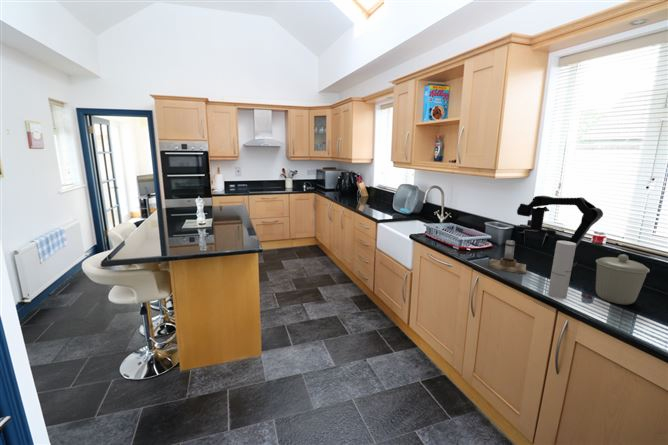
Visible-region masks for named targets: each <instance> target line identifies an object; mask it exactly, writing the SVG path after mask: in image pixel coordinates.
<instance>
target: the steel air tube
mask: <svg viewBox="0 0 668 445" xmlns="http://www.w3.org/2000/svg"><path fill="white" fill-rule="evenodd" d="M515 246H516V241H515V240H511V239H507V240H506V241H505V246H504V247H505V248H504V257H503V258H504V260H505V261H510V262H513V259H514V254H515V253H514V252H515Z"/></svg>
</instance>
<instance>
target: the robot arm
mask: <svg viewBox="0 0 668 445" xmlns="http://www.w3.org/2000/svg"><path fill="white" fill-rule="evenodd" d="M553 205H554V206H576V207H577V209H578V211H580V212H581V213H582V216H581V221H580V223H579V225H578V227H577V228H576V230H575V231H574V233H573V234H572V236H571V237H570V239H569V242H573V243H576V248H575V250H576V249H577V247H578V246H579V244H580V243H581V241H582V240H583V239H584V237H585V236H586V234H587V233H588V232H589V231H590V228H591V227H593V226H594V225H595V224H596V223H598V222H599V221H600V219H601V218H602V217H603V215H604V212H603V210H602V209H601V208H600V207H596V206H595V205H594V204H592V203H591V202H589V201H588V200H586V198H584V197H553V196H547V195H536V196H534V197H533V198H532V201H531V202H530V203H528V204H525V203H520V204H519V206H518V207H517V209H516V214H517V216H520V217H521V216H522V217H528V218H529V217H530V216H531V217H530V218H531V219H528V220H527V222H526V226H527V227H526V226H525V225H520V224H518V225H516V229H515V232H516V233H517V232H518V234H520V237H521V239H522V244H523V245H525V242H526V241H525V239H526V238H525V237H526V236H525V232H532V233H541V234H544V238H543V241H542V245H541V247H542V248H543V247H544V246H545V244H546V243H547V241H548V240H550V239H551V238H553V237H556V235H557V234H556V233H557V231H556V229H554V228H553V229H552V228H547V229H543V224H544V217H545V212H550V209H549V208H548V207H547V206H553ZM577 263H578V262H577V261H576V260H575V259H573V265H572V270H571V275H570V281H574V279H573V277H574V270H575V266H576V265H577Z"/></svg>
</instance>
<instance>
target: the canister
mask: <svg viewBox="0 0 668 445" xmlns="http://www.w3.org/2000/svg"><path fill="white" fill-rule="evenodd" d="M595 263H596V273H595V274H596V275H595V291H596V295H597V296H598V297H599V298H600V299H601V300H604V301H607V302H609V303H614V304H616V305H631V304H634V303H635V301H636V300H637V298H638V296H639V294H640V291H641V289H642V287H643V284H644V281H645V279H646V277H647V274H648V273H650V268H648V267H647V265H646V266H645V265H644V264H643V263H640V262H638V261H635V260H630V259H629V256H628V255H627V254H619V255H618V256H617V257H613V256H611V257H610V256H605V257H600V258H597V259H595Z"/></svg>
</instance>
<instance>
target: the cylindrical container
mask: <svg viewBox="0 0 668 445" xmlns="http://www.w3.org/2000/svg"><path fill="white" fill-rule="evenodd" d="M555 243H556V244H555V248H554V256H553V260H552V266H551V273H550V280H549V284H548V289H547V290H548V292H547V294H548V296H550V297H552V296H553V298H556V299H561V300H563V299H567V296H568V291H569V284H570V281H571V280H570V275H571V270H572V265H573V259H574V258H575V255H576V254H575V252H576V249H577V247H576V243H573V242H569V241H567V240H557V241H556V242H555ZM575 248H576V249H575ZM574 260H575V259H574Z"/></svg>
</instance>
